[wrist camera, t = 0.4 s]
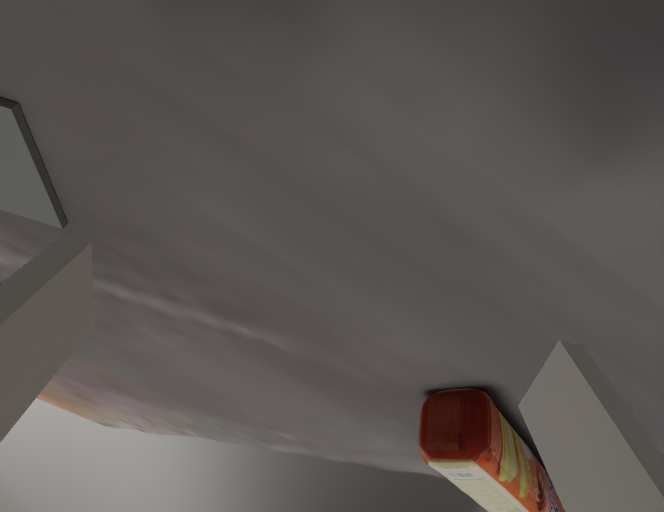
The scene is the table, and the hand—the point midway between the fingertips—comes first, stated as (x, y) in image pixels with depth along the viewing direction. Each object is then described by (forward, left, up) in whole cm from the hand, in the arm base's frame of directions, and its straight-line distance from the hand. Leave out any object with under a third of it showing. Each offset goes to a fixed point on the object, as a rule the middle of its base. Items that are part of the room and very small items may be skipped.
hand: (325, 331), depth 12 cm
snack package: (+29, +20, -12) cm, 38 cm away
